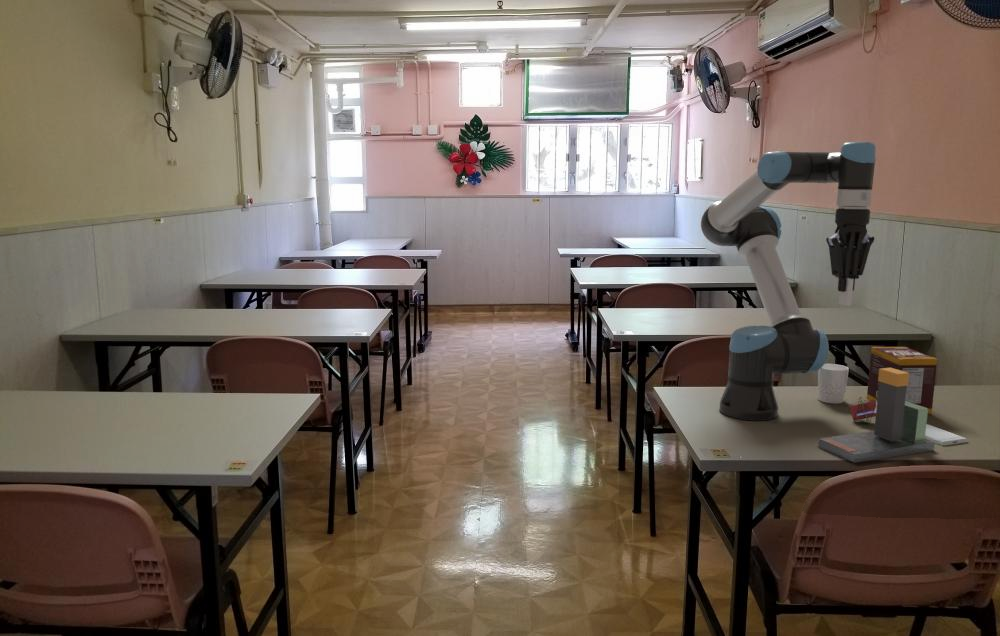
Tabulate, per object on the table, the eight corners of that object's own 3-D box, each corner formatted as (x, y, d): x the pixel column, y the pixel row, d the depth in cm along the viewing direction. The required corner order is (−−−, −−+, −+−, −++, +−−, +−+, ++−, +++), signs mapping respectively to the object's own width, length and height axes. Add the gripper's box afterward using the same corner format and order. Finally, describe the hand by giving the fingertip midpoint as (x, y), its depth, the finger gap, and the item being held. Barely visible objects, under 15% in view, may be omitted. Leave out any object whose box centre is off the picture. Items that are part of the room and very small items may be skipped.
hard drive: (900, 425, 190) (942, 441, 178) (924, 422, 193) (968, 437, 181) (899, 431, 190) (942, 447, 179) (923, 428, 193) (967, 444, 181)
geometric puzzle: (842, 415, 195) (864, 394, 191) (842, 408, 201) (864, 387, 198) (864, 434, 193) (887, 413, 190) (864, 426, 199) (886, 406, 196)
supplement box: (900, 398, 218) (905, 346, 215) (932, 414, 203) (938, 358, 200) (865, 398, 218) (870, 346, 215) (894, 414, 202) (900, 358, 200)
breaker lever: (891, 441, 174) (898, 374, 171) (872, 434, 179) (879, 368, 176) (902, 440, 175) (909, 372, 172) (883, 432, 180) (890, 367, 177)
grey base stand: (853, 462, 167) (857, 420, 166) (818, 446, 178) (821, 406, 176) (933, 450, 175) (938, 409, 174) (895, 435, 186) (899, 396, 184)
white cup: (810, 397, 219) (813, 363, 217) (836, 396, 220) (839, 363, 218) (825, 404, 211) (828, 370, 209) (851, 404, 212) (854, 370, 210)
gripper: (843, 208, 174) (835, 308, 178) (886, 208, 178) (877, 305, 182) (820, 207, 181) (812, 303, 185) (862, 207, 185) (853, 300, 189)
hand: (844, 304), depth 184 cm, fingers closed
